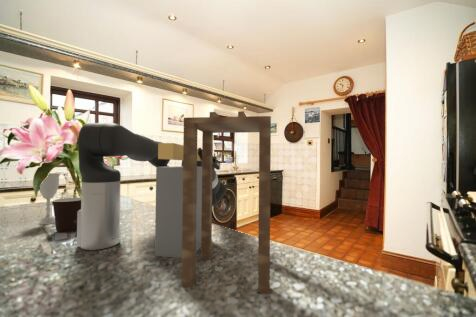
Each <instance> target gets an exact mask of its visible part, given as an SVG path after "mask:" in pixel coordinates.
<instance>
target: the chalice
mask: <svg viewBox="0 0 476 317" xmlns="http://www.w3.org/2000/svg"><path fill="white" fill-rule="evenodd" d="M48 173H49V172H48ZM60 175H61V173H57V172H53V173H51V172H50V173H49V175H48V177H47V178H46V179H45V180H44V181H43V183H42V184H41V186H40V189H39V188H38V191H39V193H40V195H41V196H42V198H43V199H45V200H46V203H45V206H46V208H45V212H46V214H45V215H44V216H42V217H41V219H40V222H39V223H38V225H42V226H43V225H51V223H52V224H55V223H54V222H55V217H54V215H51V213H50V212H51V210H52V209H51V204H52V203H51V199H54V197H55V196H56V193H57V192H58V189H59V188H60V187H59V186H60Z"/></svg>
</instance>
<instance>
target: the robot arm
mask: <svg viewBox="0 0 476 317" xmlns="http://www.w3.org/2000/svg"><path fill="white" fill-rule="evenodd" d="M158 143H163V142H161V141H157V140H156V141H155V140H153V139H151V138H149V137H146V136H144V135H141V134H138V133H135V132H133V131H131V130H129V129H128V128H127V127H124V126H123V125H120V124H118V123H113V122H89V123H84V124H83V125H82V126H81V128H80V130H79V133H78V137H77V150H78V152H77V153H78V170H79V173H80V175H81V191H80V192H81V197H80V198H81V210H79V211H78V212H77V230H76V247H77V248H80V249H82V250H85V251H87V250H89V251H96V250H97V251H98V250H104V249H107V248H110V247H113V246H116V245H118V244H119V243H120V234H121V233H120V230H121V229H120V224H121V222H120V220H121V179H122V178H121V177H122V176H121V171H120V170H119V169H115V168H113V167H111V166H109V165H108V164H107V163H106V162H105V160H104V158H105V157H109V158H110V157H111V158H113V157H122V156H123V157H125V156H126V157H127V158H129V159H130V160H133V161H136V162H143V163H144V162H149V164H151V165H152V166H154V167H155V168H156V167H170V165H168V164H169V163H170V161H171V160H168V159H158ZM197 149H198V155H199V157H200V159H201V160H202V147H197ZM181 166H183V160H181ZM197 166H202V161H197ZM215 169H216V170H217V171H219V170H220V169H221V161H219V159H217V158H216V157H215V156H214V155H213V164H212V207H215V206H217V205H219V203H221V200H222V199H223V198H224V196H225V195H226V193H227V192H228V188H227V186H226V184H224V183H223V182H221V181H220V180H219V179H218V178H219V177H218V174H217V171H216V170H215Z"/></svg>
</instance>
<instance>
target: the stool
mask: <svg viewBox="0 0 476 317" xmlns="http://www.w3.org/2000/svg"><path fill="white" fill-rule="evenodd" d="M271 120H272V116H271V115H260V116H259V115H258V116H257V115H256V116H255V115H254V116H247V115H246V114H245V111H243V110H242V111H241V110H239V111H237V116H220V115H219V114H218V113H217V112H216V111H209V116H203V117H201V116H198V117H195V116H193V117H183V143H182V145H183V214H182V258H181V287H185V288H193V286H194V285H195V283H196V275H197V274H196V272H197V271H196V268H197V266H196V264H197V261H196V260H197V252H196V205H197V149H198V131H200V132H202V135H201V136H202V145H201V146H202V147H201V149H202V217H201V247H200V260H205V261H207V260H208V261H209V260H211V258H212V243H213V242H212V239H213V238H212V237H213V235H212V232H213V229H212V227H213V206H212V164H213V156H214V154H213V153H214V152H213V151H214V150H213V147H214V146H213V145H214V143H213V142H214V141H213V140H214V133H215V134H216V133H218V134H219V133H222V134H223V133H225V134H226V133H231V134H233V133H235V134H237V133H259V134H258V136H259V137H258V138H259V139H258V140H259V142H258V146H259V147H258V148H259V149H258V238H257V240H258V246H257V248H258V250H257V251H258V255H257V258H258V259H257V260H258V261H257V262H258V264H257V266H258V267H257V269H258V270H257V290H258V291H257V293H258V294H268V295H270V292H271V290H270V287H271V285H270V284H271V283H270V280H271V279H270V278H271V277H270V276H271V274H270V273H271V270H270V269H271V162H272V160H271V155H272V154H271V147H272V146H271V144H272V142H271V141H272V140H271V138H272V137H271V134H272V133H271V132H272V129H271V128H272V126H271V125H272V121H271Z"/></svg>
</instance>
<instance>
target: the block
mask: <svg viewBox="0 0 476 317" xmlns="http://www.w3.org/2000/svg"><path fill="white" fill-rule="evenodd" d="M155 168H156V170H155V171H156V172H155V219H154V220H155V225H154V227H155V229H154V232H155V233H154V234H155V235H154V257H164V258H176V259H177V258H178V259H182V214H183V166H180V165H177V166H175V165H174V166H169V167H155ZM201 217H202V166H197V205H196V253H197V252H198V251H199V249H201Z"/></svg>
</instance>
